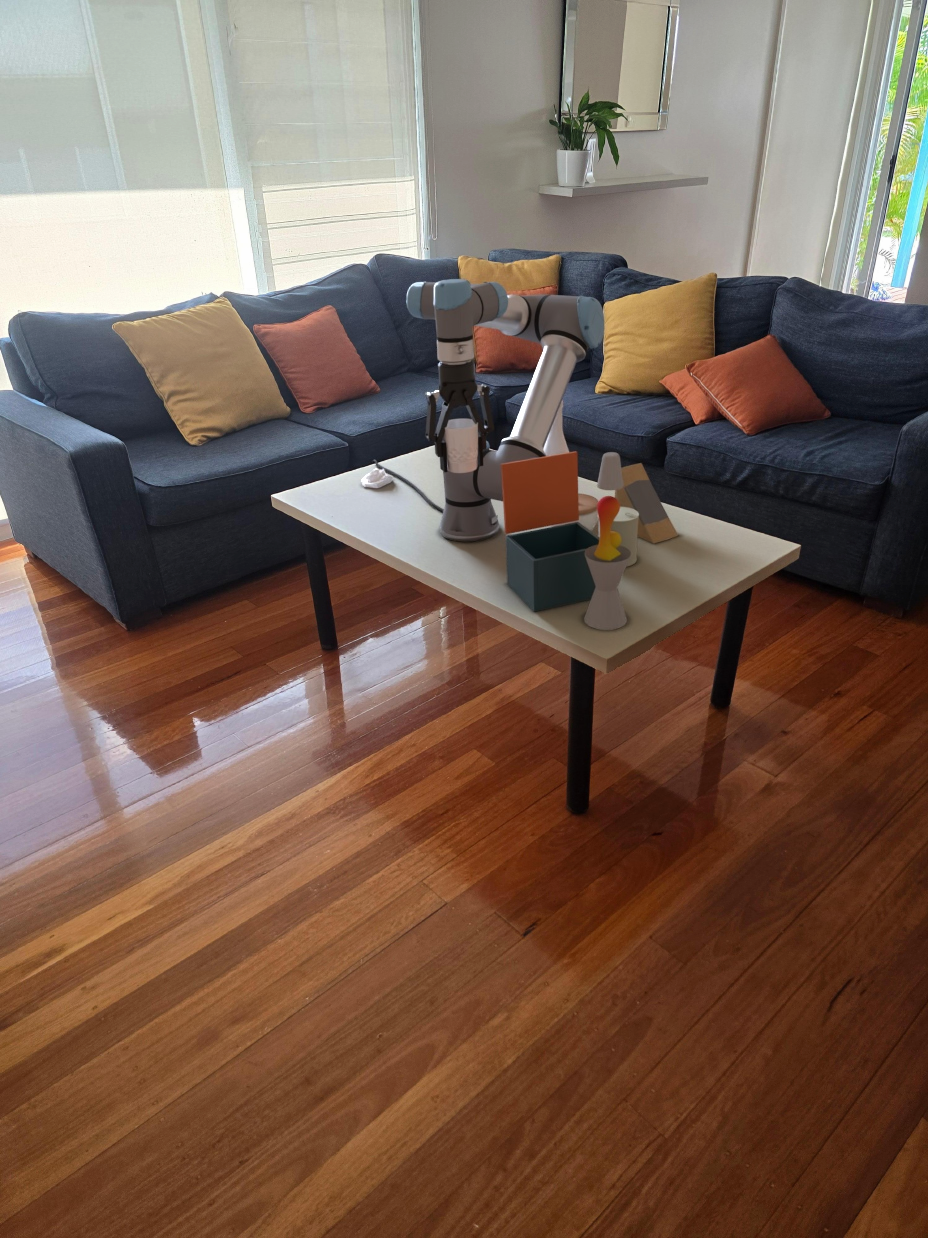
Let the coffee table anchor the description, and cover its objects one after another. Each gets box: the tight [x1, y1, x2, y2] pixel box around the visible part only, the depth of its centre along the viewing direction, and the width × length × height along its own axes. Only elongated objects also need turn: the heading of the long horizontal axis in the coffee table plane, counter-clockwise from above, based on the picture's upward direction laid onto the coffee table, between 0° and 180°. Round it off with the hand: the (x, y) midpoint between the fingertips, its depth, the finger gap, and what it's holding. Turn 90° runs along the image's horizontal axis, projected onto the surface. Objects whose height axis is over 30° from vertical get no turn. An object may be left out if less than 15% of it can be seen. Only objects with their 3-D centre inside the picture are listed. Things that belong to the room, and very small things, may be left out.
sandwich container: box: [614, 462, 679, 544], centre depth 206 cm, size 9×15×15 cm, turn 31°
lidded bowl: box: [550, 492, 599, 532], centre depth 206 cm, size 13×13×11 cm
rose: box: [360, 468, 394, 489], centre depth 250 cm, size 10×4×10 cm
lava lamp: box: [583, 451, 631, 631], centre depth 162 cm, size 9×9×35 cm
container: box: [505, 522, 599, 613], centre depth 181 cm, size 15×18×12 cm
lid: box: [501, 450, 579, 535], centre depth 181 cm, size 15×18×1 cm
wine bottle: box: [543, 399, 570, 456], centre depth 218 cm, size 10×10×30 cm
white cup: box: [443, 418, 479, 473], centre depth 180 cm, size 8×8×10 cm
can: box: [597, 507, 639, 568], centre depth 193 cm, size 9×9×12 cm
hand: (461, 467), depth 182 cm, fingers closed on white cup, 8 cm apart
